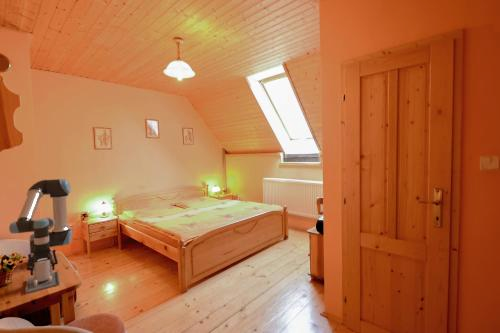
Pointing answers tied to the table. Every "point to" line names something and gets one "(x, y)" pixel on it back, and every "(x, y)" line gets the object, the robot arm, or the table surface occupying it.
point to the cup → (42, 269)
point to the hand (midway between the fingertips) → (43, 277)
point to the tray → (42, 283)
